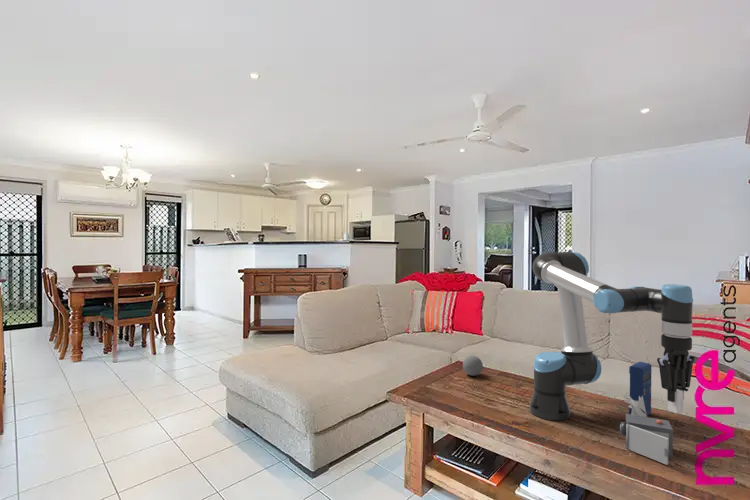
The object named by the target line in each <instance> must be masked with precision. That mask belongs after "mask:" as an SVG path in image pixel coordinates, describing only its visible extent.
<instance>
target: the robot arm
mask: <svg viewBox="0 0 750 500" xmlns="http://www.w3.org/2000/svg"><path fill="white" fill-rule="evenodd" d="M589 266H590V265H589V262H588V260H587V258H586V257H585V256H583V255H582V253H580V252H577V251H575V252H574V251H573V252H572V251H560V252H559V251H558V252H553V251H552V252H544V253H541V254H539V255H538V256H536V258H535V259H534V260H533V262H532V272H533V274H534V276H536V278H537V279H538V280H540V281H542V282H544V283H545V284H553V285H554V287H556V288H557V291H558V299H559V309H560V317H561V319H560V320H561V325H562V326H561V327H562V335H563V344H564V345H563V347H562V348H561V349H560V352H559V351H544V352H540V353H538V354H537V355H535V357H534V359H533V360H534V361H533V362H534V363H533V392H532V393H533V394H532V395H531V399H530V401H529V406H528V407H529V408H528V409H529V412H530V413H531V414H532V415H534V416H535V417H538V418H540V419H544V420H548V421H558V422H559V421H565V420H569V419H570V418H571V407H570V405H569V401H568V398H567V396H566V390H567V389H566V387H567V386H575V385H588V384H591V383H595V382H596V381H598V379H600V377H601V375H602V363H601V361H600V359H599V357H598V356H597V355H596V354H594V353H593V349H592V348H591V347H590V346H589V345H588V338H587V331H586V330H587V329H586V321H585V315H584V306H583V299H584V300H587V301H588V302H590V303H593V305H594V307H595V308H596V309H597V311H598V312H600V313H603V314H617V313H630V312H631V313H632V312H635V313H636V312H643V311H644V312H653V313H657V314H661V333H662V334H661V336H660V338H661V339H660V340H661V342H660V345H661V347H663V348H664V352H663V356H662V357H657V359H656V360H657V361H656V362H657V364H658V366H659V367H658V368H659V374H660V382H661V388H662V389H665V390H666V391H667V392H666V393H667V411H670V412H672V413H675V414H679V413H684V400H685V392H688V391H689V388H690V386H691V379H692V373H693V366H694V365H693V364H694V361H695V360H696V358H695V357H696V356H694V355H690V354H689V351H691V350H692V349H693V348H692V347H693V338H692V336H693V319H692V317H693V305H694V304H693V303H694V299H693V288H692V287H690V286H688V285H685V284H674V283H672V284H671V283H669V284H663V285H661V286H662V287H661V289H660V288H659V289H658V288H653V287H652V288H650V287H645V286H631V287H629V288H616V287H613V286H611V285H609V284H606V283H605V282H601V281H600V280H598V279H597V280H596V279H594V278H592V277H589V276H588V274H589V272H590V267H589ZM582 298H583V299H582Z"/></svg>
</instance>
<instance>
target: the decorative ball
mask: <svg viewBox="0 0 750 500" xmlns="http://www.w3.org/2000/svg"><path fill="white" fill-rule="evenodd" d="M483 368H484V365H483V362H482V360H481V359H480V358H479V357H478V356H476V355H469V356H466V357H465V358H464V360H463V362H462V369H463V370H464V371H463V372H464V373H466V374H467V375H469V376H471V377H474V376H478V375H479V374H481V373H482V371H483Z"/></svg>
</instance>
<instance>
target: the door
mask: <svg viewBox="0 0 750 500" xmlns="http://www.w3.org/2000/svg"><path fill="white" fill-rule="evenodd" d="M625 449H626V450H629V451H631V452H634V453H636V454H639V455H642V456H645V457H646V458H649V459H650V460H651V459H652V460H653V461H656V462H659V463H660V464H661V463H662V464H664V465H667V466H668V465H669V457H668V438H666V437H663V436H660V435H657V434H655V433H652V432H649V431H646V430H644V429H641V428H638V427H635V426H632V425H630V424H626V436H625Z"/></svg>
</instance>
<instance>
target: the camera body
mask: <svg viewBox="0 0 750 500" xmlns="http://www.w3.org/2000/svg"><path fill="white" fill-rule="evenodd" d="M670 423H671V422H670V421H669V420H666V419H660V418H655V417H654V418H653V417H648V416H647V417H643V416H637V415H631V414H629V413H625V421H620V423H619V432H620V435H621V436H622V437H623V436H624V437H626V424H630V425H632V426H635V427H638V428H641V429H644V430H646V431H649V432H652V433H655V434H657V435H660V436H663V437H666V438H668V458H673V452H674V451H673V448H674V447H673V444H674V443H673V441H674V439H673V438H674V430H673V427H672V425H671V424H670Z"/></svg>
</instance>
